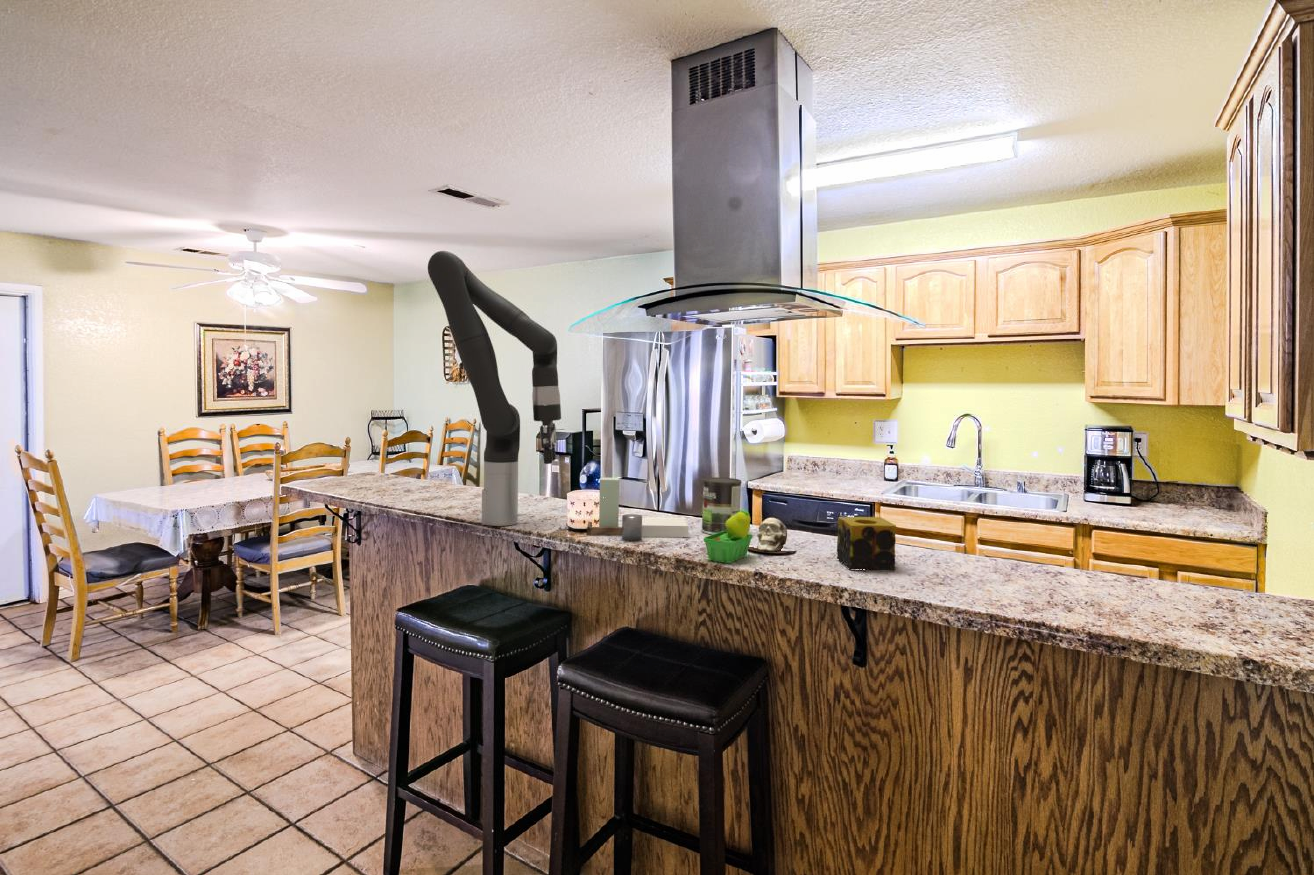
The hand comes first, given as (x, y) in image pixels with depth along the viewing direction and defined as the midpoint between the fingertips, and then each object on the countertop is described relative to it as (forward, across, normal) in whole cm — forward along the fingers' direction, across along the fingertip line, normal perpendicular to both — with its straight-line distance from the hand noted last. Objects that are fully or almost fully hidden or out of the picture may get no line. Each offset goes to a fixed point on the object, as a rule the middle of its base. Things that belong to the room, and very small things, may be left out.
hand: (549, 462), depth 189 cm
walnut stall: (+18, +9, +16) cm, 26 cm away
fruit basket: (+20, +38, +43) cm, 61 cm away
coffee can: (+21, +8, +45) cm, 51 cm away
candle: (+22, +43, +72) cm, 87 cm away
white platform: (+19, +10, +29) cm, 37 cm away
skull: (+21, +29, +54) cm, 65 cm away
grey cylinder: (+19, +19, +21) cm, 34 cm away
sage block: (+18, +9, +16) cm, 26 cm away
